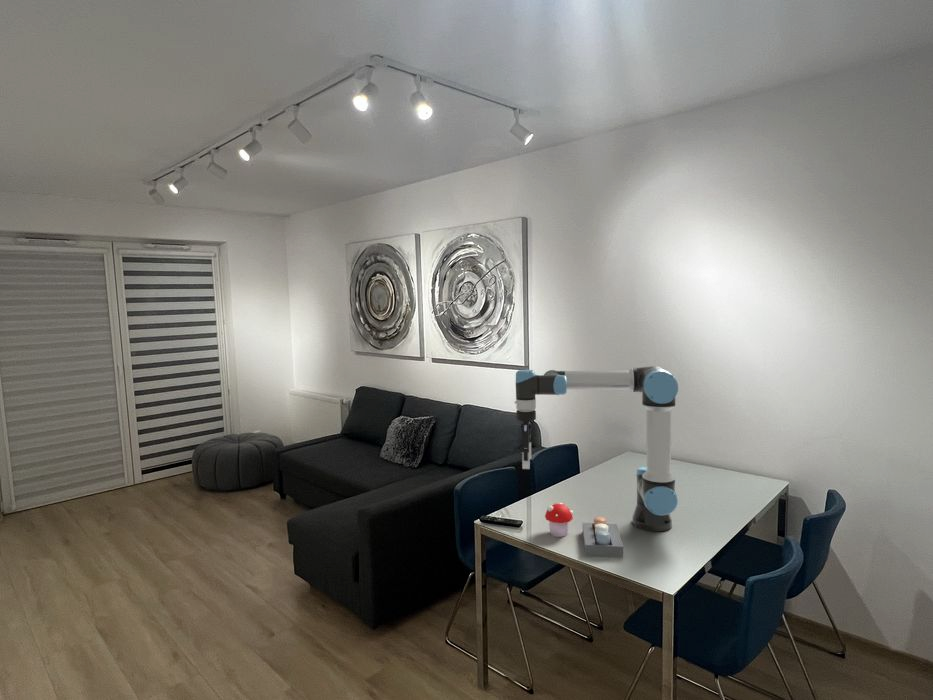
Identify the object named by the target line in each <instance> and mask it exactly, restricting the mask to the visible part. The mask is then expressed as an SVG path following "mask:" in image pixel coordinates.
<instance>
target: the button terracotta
mask: <svg viewBox="0 0 933 700" xmlns="http://www.w3.org/2000/svg"><path fill="white" fill-rule="evenodd" d="M593 523H594V530H595V525H596V524H606V525H607V524H608V523H607V518H606V517H603V516H596V517H593Z"/></svg>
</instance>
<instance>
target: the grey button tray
mask: <svg viewBox="0 0 933 700" xmlns="http://www.w3.org/2000/svg"><path fill="white" fill-rule="evenodd" d="M607 525H608V532H609V533H610V545H596V537H595V530H594V522H582V538H583V546H584V554H585V557H601V558H602V557H603V558H618V559H619V558H624V545H623V542H622V538H621V534H620V531H619V527H618V524H617V523H607Z"/></svg>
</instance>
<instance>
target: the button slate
mask: <svg viewBox="0 0 933 700" xmlns="http://www.w3.org/2000/svg"><path fill="white" fill-rule="evenodd" d="M596 545H610V533H609V532H607V531H598V532H597V533H596Z"/></svg>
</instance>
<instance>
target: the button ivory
mask: <svg viewBox="0 0 933 700" xmlns="http://www.w3.org/2000/svg"><path fill="white" fill-rule="evenodd" d="M598 531H607V532H608V525H606V524H596V525H595V537H596V533H597V532H598Z"/></svg>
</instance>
